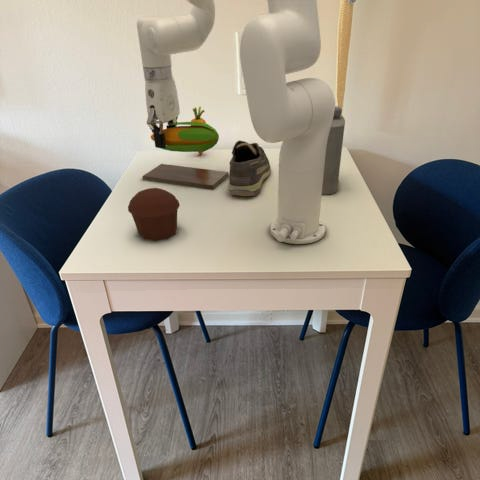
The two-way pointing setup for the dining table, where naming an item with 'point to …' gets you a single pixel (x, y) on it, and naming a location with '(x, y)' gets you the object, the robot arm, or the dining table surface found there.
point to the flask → (333, 153)
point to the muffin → (154, 213)
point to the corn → (190, 137)
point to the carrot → (198, 118)
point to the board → (186, 176)
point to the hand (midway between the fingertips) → (167, 143)
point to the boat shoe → (247, 169)
